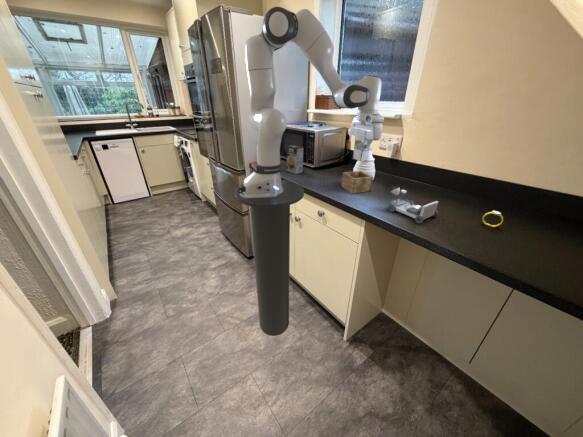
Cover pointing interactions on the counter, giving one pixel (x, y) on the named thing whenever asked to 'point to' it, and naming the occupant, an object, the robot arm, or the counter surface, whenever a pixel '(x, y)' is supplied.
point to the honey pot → (366, 165)
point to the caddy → (356, 181)
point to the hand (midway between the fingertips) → (362, 147)
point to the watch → (494, 214)
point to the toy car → (413, 207)
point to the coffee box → (294, 159)
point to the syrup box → (360, 146)
